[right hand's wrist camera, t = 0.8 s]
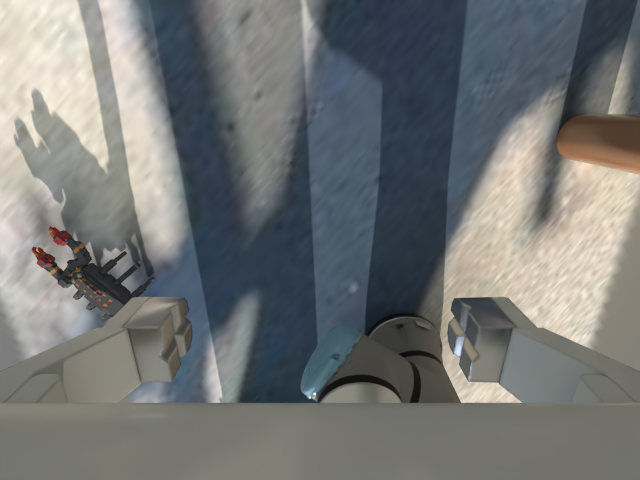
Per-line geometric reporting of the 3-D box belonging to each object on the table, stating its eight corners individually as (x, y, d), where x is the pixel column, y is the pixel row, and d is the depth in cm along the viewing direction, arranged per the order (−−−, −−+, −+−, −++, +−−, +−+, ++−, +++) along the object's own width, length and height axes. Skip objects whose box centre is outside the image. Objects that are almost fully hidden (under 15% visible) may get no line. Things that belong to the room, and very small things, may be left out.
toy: (144, 345, 70) (88, 423, 53) (31, 252, 62) (-78, 307, 45) (190, 310, 67) (145, 381, 50) (76, 207, 59) (-22, 250, 42)
